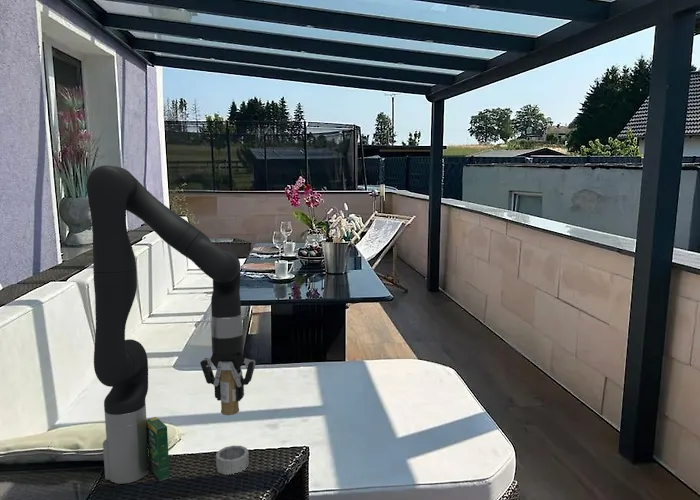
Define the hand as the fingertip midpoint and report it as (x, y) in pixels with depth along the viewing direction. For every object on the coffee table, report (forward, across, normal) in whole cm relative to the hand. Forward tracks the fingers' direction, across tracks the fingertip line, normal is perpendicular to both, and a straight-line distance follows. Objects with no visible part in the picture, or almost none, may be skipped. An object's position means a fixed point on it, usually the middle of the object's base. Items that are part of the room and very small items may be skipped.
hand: (229, 399), depth 128 cm
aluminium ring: (+18, 0, 0) cm, 18 cm away
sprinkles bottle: (+3, 0, 0) cm, 3 cm away
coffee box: (+18, -17, -4) cm, 25 cm away
